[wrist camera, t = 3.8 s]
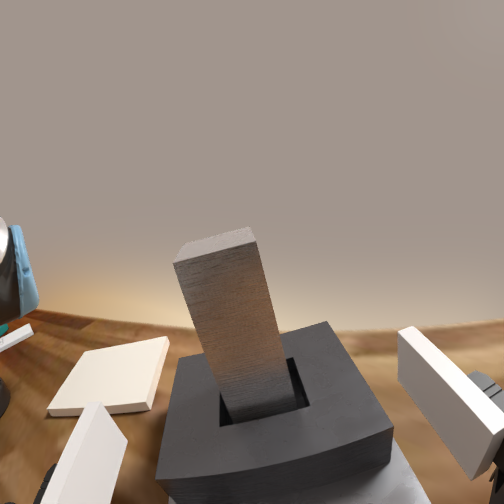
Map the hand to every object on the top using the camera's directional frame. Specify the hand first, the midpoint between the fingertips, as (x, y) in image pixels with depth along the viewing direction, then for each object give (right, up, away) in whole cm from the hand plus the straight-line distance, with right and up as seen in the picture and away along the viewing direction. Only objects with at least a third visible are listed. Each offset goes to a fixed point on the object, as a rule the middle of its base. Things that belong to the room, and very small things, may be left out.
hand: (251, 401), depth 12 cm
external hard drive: (-56, -15, +43) cm, 72 cm away
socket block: (+2, -9, +7) cm, 12 cm away
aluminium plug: (+2, -7, +10) cm, 13 cm away
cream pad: (-18, -10, +23) cm, 30 cm away
